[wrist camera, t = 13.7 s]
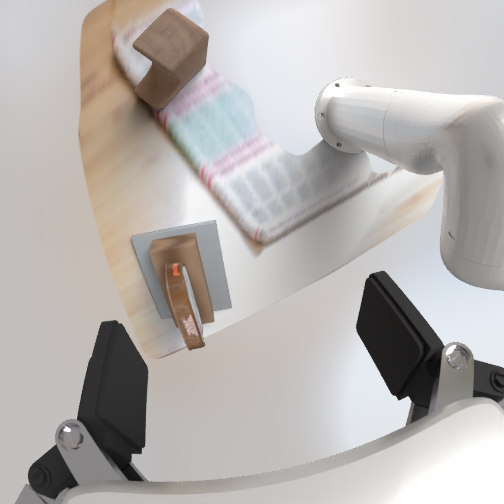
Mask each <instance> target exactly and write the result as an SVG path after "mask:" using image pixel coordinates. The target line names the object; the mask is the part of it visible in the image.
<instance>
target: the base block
mask: <svg viewBox="0 0 504 504" xmlns="http://www.w3.org/2000/svg"><path fill="white" fill-rule="evenodd" d="M149 254H150V257H151V260H152V263H153V266H154V269H155V272H156V274H157V277H158V280H159V283H160V286H161V288H162V291H163V294H164V297H165V299H166V302H167V305H168V307H169V310H170V312H171V315H172V318H173V320H174V323H175V325H176V327H177V328H178V327H179V326H178V323H177V321H176V318H175V315H174V313H173V310H172V307H171V304H170V300H169V296H168V292H167V287H166V279H165V265H166V264H167V263H168V264H171V263H175V262H184V263H185V265H186V268H187V271H188V275H189V278H190V281H191V285H192V288H193V292H194V296H195V299H196V303H197V306H198V310H199V314H200V318H201V322H202V324H204V323H211V322H214V314H213V306H212V302H211V298H210V294H209V290H208V286H207V281H206V277H205V273H204V269H203V265H202V260H201V256H200V252H199V247H198V243H197V238H196V234H195V232H194V233H188V234H183V235H177V236H172V237H166V238H161V239H156V240H153V242H152V245H151V249H150V253H149Z"/></svg>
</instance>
